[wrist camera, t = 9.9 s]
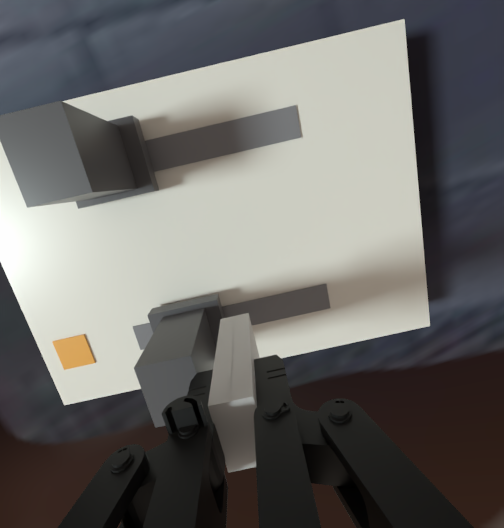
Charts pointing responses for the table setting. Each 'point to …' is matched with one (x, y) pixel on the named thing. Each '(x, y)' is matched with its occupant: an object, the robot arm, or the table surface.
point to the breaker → (75, 156)
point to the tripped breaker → (177, 350)
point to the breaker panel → (236, 213)
